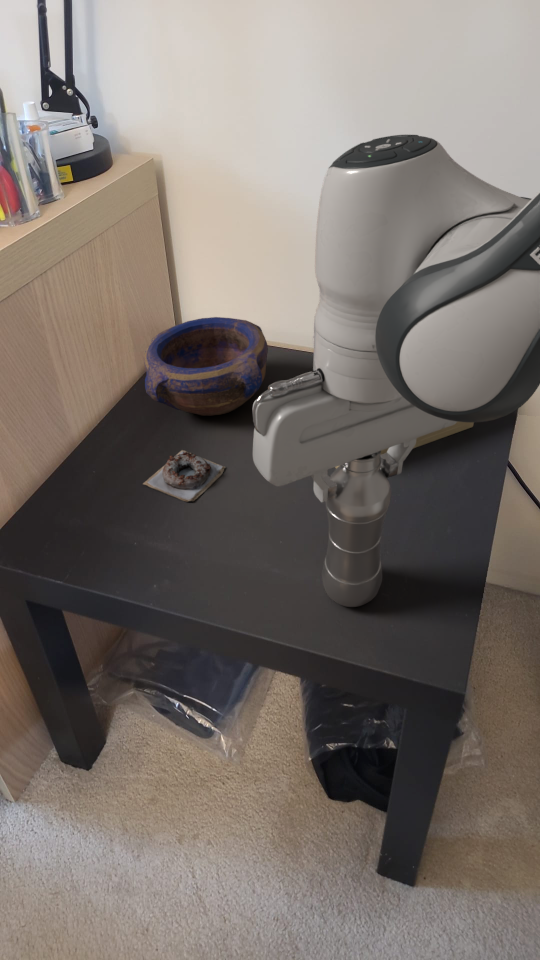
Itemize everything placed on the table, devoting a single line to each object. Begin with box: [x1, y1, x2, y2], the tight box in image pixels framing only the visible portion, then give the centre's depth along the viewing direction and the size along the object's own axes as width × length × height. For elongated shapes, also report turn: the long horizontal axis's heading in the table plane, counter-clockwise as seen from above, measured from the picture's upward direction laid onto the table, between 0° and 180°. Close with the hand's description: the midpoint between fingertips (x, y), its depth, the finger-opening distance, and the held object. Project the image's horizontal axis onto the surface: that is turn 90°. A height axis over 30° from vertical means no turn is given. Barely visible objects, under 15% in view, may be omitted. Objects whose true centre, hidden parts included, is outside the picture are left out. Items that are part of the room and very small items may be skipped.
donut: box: [142, 449, 226, 503], centre depth 89 cm, size 8×8×2 cm
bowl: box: [143, 316, 269, 417], centre depth 100 cm, size 18×18×10 cm
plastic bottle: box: [321, 451, 392, 608], centre depth 68 cm, size 6×7×20 cm
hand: (358, 484), depth 64 cm, fingers closed on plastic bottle, 6 cm apart
